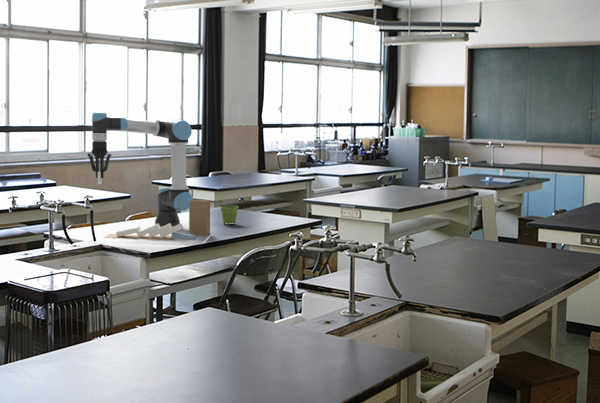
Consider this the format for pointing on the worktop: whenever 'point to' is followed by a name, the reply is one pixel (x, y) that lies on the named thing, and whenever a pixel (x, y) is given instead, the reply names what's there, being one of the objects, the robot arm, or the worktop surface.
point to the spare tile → (128, 231)
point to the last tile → (182, 236)
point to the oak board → (139, 237)
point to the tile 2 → (148, 230)
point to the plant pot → (229, 213)
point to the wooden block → (199, 217)
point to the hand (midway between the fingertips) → (99, 184)
